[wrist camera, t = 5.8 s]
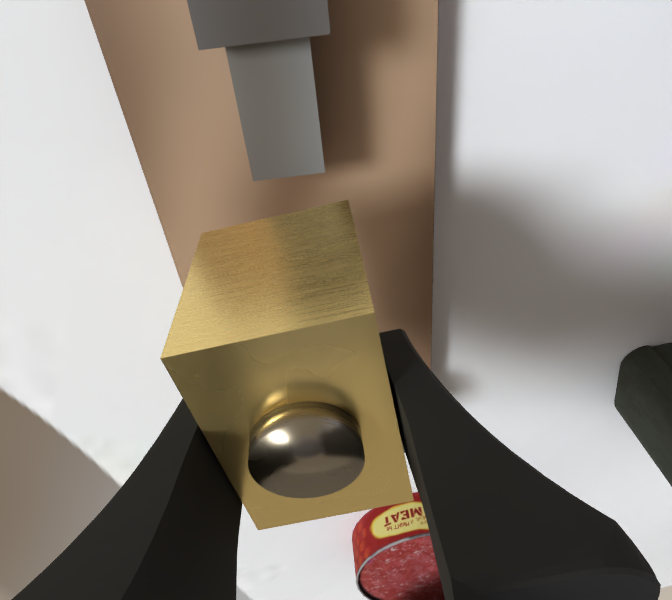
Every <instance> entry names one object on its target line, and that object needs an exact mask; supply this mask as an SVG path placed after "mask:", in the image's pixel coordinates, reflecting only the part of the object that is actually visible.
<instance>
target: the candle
mask: <svg viewBox="0 0 672 600" xmlns="http://www.w3.org/2000/svg"><path fill="white" fill-rule="evenodd" d="M615 407H616V409H617V410H618V412H619V413H620V414H621V416H622V417H623V419H624V420H625V421H626V423H627V424H628V426H629V427H630V428H631V430H632V431H633V433H634V434H635V435H636V437H637V438H638V440H639V441H640V443H641V444H642V445H643V447H644V448H645V450H646V451H647V452H648V454H649V455H650V457H651V458H652V459H653V461H654V462H655V464H656V465H657V466H658V468H659V469H660V471H661V472H662V473H663V475H664V476H665V478H666V479H667V480H668V482H669V483H670V485H671V486H672V343H669V344H664V345H660V346H655V347H649V346H644V347H641V348H638V349H636V350H634V351H633V352H631V353H630V354H628V355H627V356H626V357H625V358H624V360H623V361H622V363H621V366H620V371H619V377H618V383H617V389H616V395H615Z"/></svg>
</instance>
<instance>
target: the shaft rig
mask: <svg viewBox="0 0 672 600" xmlns="http://www.w3.org/2000/svg"><path fill="white" fill-rule="evenodd" d="M85 3H86V6H87V9H88V12H89V15H90V18H91V21H92V24H93V27H94V29H95V32H96V35H97V38H98V41H99V44H100V47H101V50H102V53H103V56H104V59H105V62H106V65H107V67H108V70H109V73H110V76H111V79H112V82H113V85H114V88H115V91H116V94H117V97H118V100H119V102H120V105H121V108H122V111H123V114H124V117H125V120H126V123H127V126H128V129H129V132H130V135H131V137H132V140H133V143H134V146H135V149H136V152H137V155H138V158H139V161H140V164H141V167H142V170H143V172H144V175H145V178H146V181H147V184H148V187H149V190H150V193H151V196H152V199H153V202H154V205H155V207H156V210H157V213H158V216H159V219H160V222H161V225H162V228H163V231H164V234H165V237H166V240H167V242H168V245H169V248H170V251H171V254H172V257H173V260H174V263H175V266H176V269H177V272H178V275H179V277H180V280H181V283H182V286H183V289H184V285H185V282H186V279H187V276H188V273H189V270H190V267H191V264H192V261H193V258H194V255H195V252H196V249H197V246H198V243H199V240H200V237H201V234H202V233H204V232H209V231H213V230H217V229H222V228H226V227H230V226H235V225H239V224H243V223H248V222H252V221H257V220H261V219H265V218H270V217H274V216H278V215H283V214H287V213H291V212H296V211H300V210H305V209H309V208H313V207H318V206H322V205H326V204H331V203H335V202H339V201H344V200H349V204H350V209H351V213H352V217H353V222H354V226H355V230H356V235H357V239H358V243H359V248H360V252H361V256H362V260H363V265H364V269H365V273H366V278H367V282H368V286H369V291H370V295H371V299H372V304H373V308H374V312H375V317H376V322H377V327H378V331H379V333H381V332H386V331H390V330H395V329H402V330H404V331H405V332H406V334H407V336H408V338H409V340H410V341H411V343H412V345H413V346H414V348H415V349H416V351H417V352H418V354H419V355H420V357H421V358H422V360H423V361H424V362H425V364H426V365H427V366H428V368H429V369H430V370H431V335H432V285H433V235H434V184H435V134H436V84H437V34H438V0H85ZM402 446H403V444H402ZM403 451H404V453H405V450H404V447H403Z"/></svg>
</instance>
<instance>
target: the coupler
mask: <svg viewBox="0 0 672 600" xmlns="http://www.w3.org/2000/svg"><path fill="white" fill-rule="evenodd" d="M160 359H161V360H162V362H163V364H164V366H165V367H166V369H167V371H168V373H169V374H170V376H171V378H172V380H173V381H174V383H175V385H176V387H177V388H178V390H179V392H180V394H181V395H182V397H183V399H184V401H185V402H186V404H187V406H188V408H189V409H190V411H191V413H192V415H193V416H194V418H195V420H196V422H197V423H198V425H199V427H200V429H201V431H202V432H203V434H204V436H205V438H206V439H207V441H208V443H209V445H210V446H211V448H212V450H213V452H214V453H215V455H216V457H217V459H218V460H219V462H220V464H221V466H222V467H223V469H224V471H225V473H226V474H227V476H228V478H229V480H230V481H231V483H232V485H233V487H234V488H235V490H236V492H237V494H238V495H239V497H240V499H241V501H242V502H243V504H244V506H245V508H246V509H247V511H248V513H249V515H250V516H251V518H252V520H253V522H254V524H255V525H256V527H257V529H258V530H262V529H267V528H272V527H278V526H283V525H288V524H293V523H299V522H304V521H309V520H315V519H320V518H325V517H330V516H336V515H341V514H346V513H352V512H357V511H362V510H367V509H373V508H378V507H383V506H388V505H394V504H399V503H404V502H410V501H414V499H413V494H412V489H411V485H410V480H409V475H408V470H407V465H406V461H405V456H404V451H403V446H402V441H401V437H400V432H399V427H398V422H397V418H396V413H395V408H394V403H393V398H392V394H391V389H390V384H389V379H388V374H387V370H386V365H385V360H384V355H383V350H382V346H381V341H380V336H379V331H378V327H377V322H376V317H375V312H374V308H373V304H372V299H371V295H370V291H369V286H368V282H367V278H366V273H365V269H364V265H363V260H362V256H361V252H360V248H359V243H358V239H357V235H356V230H355V226H354V222H353V217H352V213H351V209H350V204H349V200H344V201H339V202H335V203H331V204H326V205H322V206H318V207H313V208H309V209H305V210H300V211H296V212H291V213H287V214H283V215H278V216H274V217H270V218H265V219H261V220H257V221H252V222H248V223H243V224H239V225H235V226H230V227H226V228H222V229H217V230H213V231H209V232H204V233H202V234H201V237H200V240H199V243H198V246H197V249H196V252H195V255H194V258H193V261H192V264H191V267H190V270H189V273H188V276H187V279H186V282H185V285H184V289H183V292H182V295H181V298H180V301H179V304H178V307H177V310H176V313H175V316H174V319H173V322H172V325H171V328H170V331H169V334H168V337H167V340H166V343H165V346H164V349H163V352H162V355H161V358H160Z"/></svg>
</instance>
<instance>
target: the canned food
mask: <svg viewBox="0 0 672 600" xmlns="http://www.w3.org/2000/svg"><path fill="white" fill-rule="evenodd" d="M412 494H413V499H414V501H410V502H404V503H399V504H394V505H388V506H383V507H378V508H373V509H371V510H370V511H369V512H368V513H366V514H365V515H364V516H363V517H362V518H361V519H360V520H359V522H358V523H357V524H356V526H355V528H354V530H353V535H352V543H353V553H354V562H355V572H356V584H357V587H358V589H359V591H360V592H361V593H362V594H363V596H365V597H366V598H368V599H369V600H445V597H444V593H443V589H442V584H441V580H440V576H439V571H438V567H437V563H436V558H435V554H434V550H433V545H432V541H431V537H430V533H429V528H428V524H427V520H426V516H425V513H424V509H423V505H422V502H421V499H420V496H419V493H418V492H415V493H412Z"/></svg>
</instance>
